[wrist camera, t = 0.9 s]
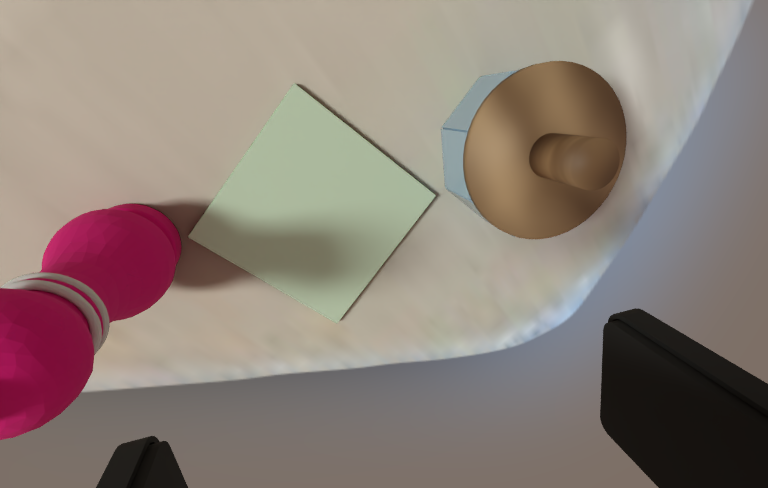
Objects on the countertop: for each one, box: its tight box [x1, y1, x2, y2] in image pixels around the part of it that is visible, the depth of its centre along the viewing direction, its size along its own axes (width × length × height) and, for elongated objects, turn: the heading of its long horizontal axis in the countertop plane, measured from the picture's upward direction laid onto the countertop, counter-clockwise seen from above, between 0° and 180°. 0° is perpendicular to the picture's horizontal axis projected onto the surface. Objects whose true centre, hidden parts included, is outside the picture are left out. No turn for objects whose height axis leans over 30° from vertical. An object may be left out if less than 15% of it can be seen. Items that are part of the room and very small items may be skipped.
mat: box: [188, 83, 436, 323], centre depth 33 cm, size 14×14×1 cm
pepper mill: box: [0, 204, 181, 440], centre depth 22 cm, size 7×7×20 cm
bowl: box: [441, 70, 519, 237], centre depth 33 cm, size 12×12×5 cm
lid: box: [463, 61, 626, 239], centre depth 28 cm, size 13×13×6 cm
